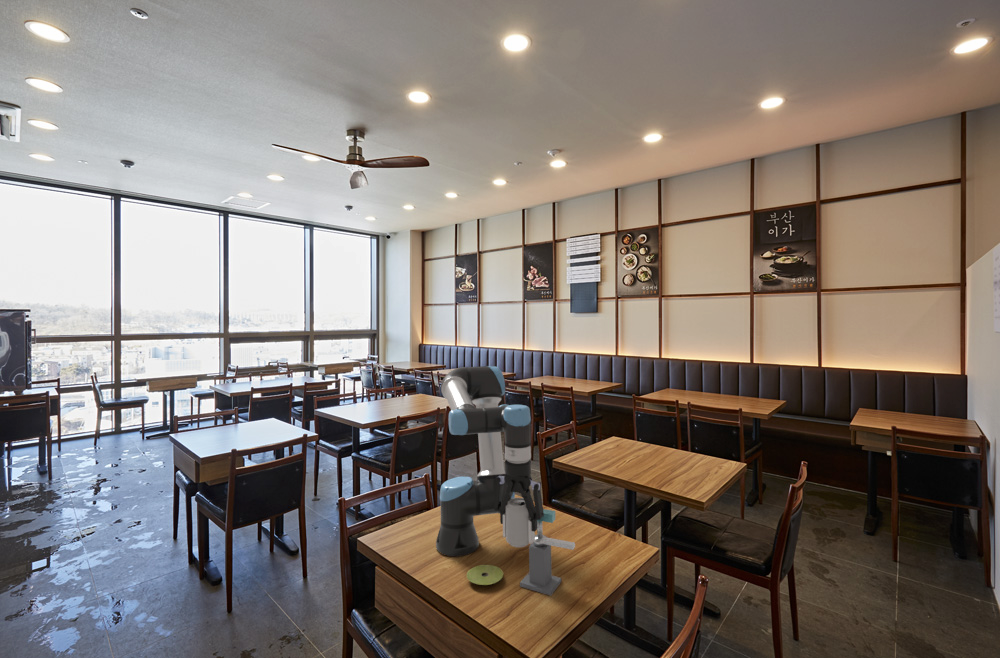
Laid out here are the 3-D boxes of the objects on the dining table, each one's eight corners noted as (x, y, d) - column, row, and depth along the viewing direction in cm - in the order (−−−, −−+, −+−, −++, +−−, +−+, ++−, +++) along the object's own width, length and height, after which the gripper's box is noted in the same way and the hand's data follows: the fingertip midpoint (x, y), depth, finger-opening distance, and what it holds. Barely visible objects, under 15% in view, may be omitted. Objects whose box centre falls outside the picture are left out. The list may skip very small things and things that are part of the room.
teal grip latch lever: (572, 553, 129) (571, 518, 129) (523, 543, 135) (523, 510, 135) (575, 546, 133) (575, 513, 133) (528, 537, 139) (527, 505, 139)
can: (530, 549, 125) (529, 507, 125) (503, 547, 127) (503, 505, 127) (533, 537, 133) (532, 496, 132) (508, 535, 134) (507, 495, 134)
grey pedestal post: (519, 586, 134) (519, 546, 134) (531, 573, 141) (530, 535, 141) (550, 595, 129) (550, 554, 129) (561, 581, 136) (560, 542, 136)
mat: (508, 587, 134) (507, 580, 134) (471, 594, 131) (471, 587, 131) (497, 568, 145) (497, 561, 145) (463, 574, 142) (463, 567, 142)
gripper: (480, 458, 131) (481, 536, 131) (545, 468, 121) (546, 552, 122) (493, 451, 137) (494, 525, 138) (555, 460, 128) (556, 540, 128)
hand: (518, 538), depth 130 cm, fingers closed on can, 7 cm apart
